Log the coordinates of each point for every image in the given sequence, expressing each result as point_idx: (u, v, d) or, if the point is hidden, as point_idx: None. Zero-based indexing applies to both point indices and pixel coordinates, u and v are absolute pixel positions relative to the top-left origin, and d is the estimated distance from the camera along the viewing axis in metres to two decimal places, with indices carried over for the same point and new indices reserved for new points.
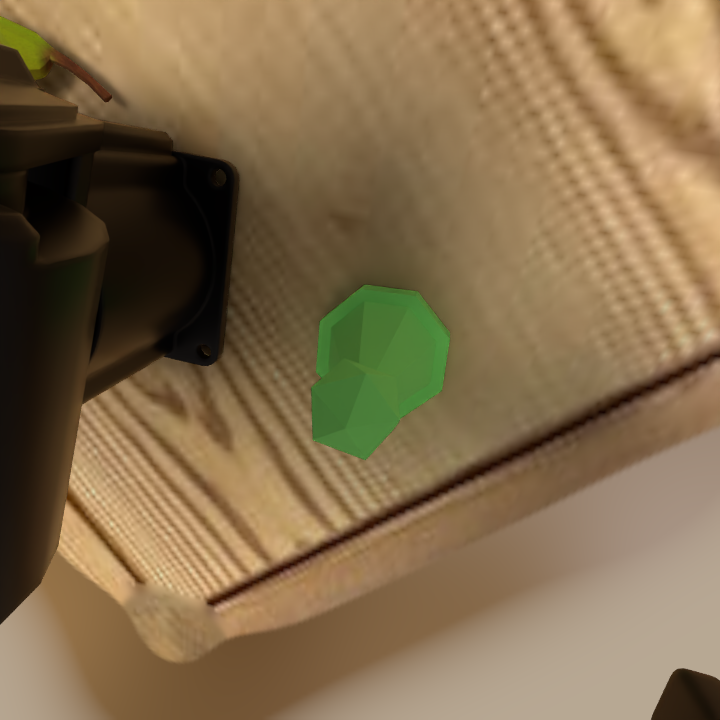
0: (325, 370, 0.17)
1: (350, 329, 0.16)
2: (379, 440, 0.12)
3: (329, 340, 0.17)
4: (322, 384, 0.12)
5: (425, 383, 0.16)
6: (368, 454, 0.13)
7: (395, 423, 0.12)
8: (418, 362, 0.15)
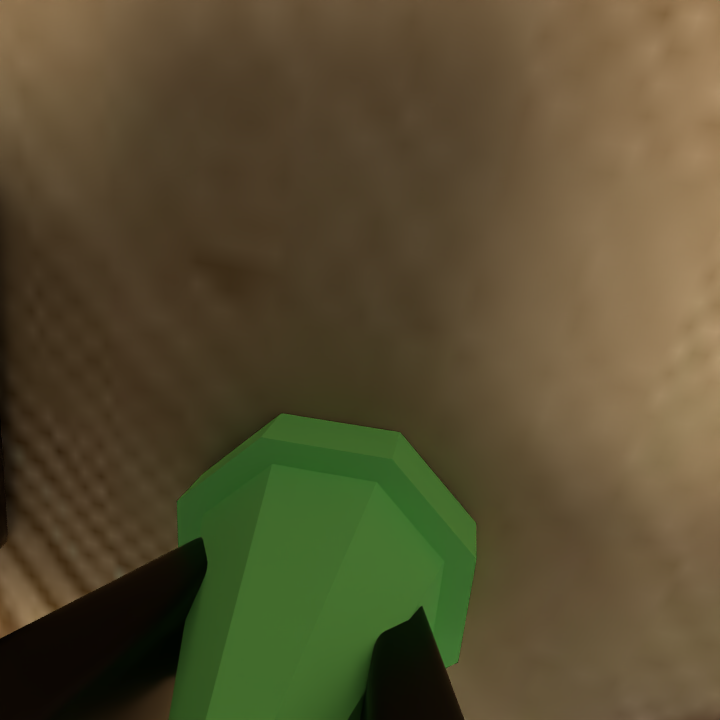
0: None
1: (226, 548, 0.06)
2: None
3: None
4: None
5: None
6: None
7: None
8: None
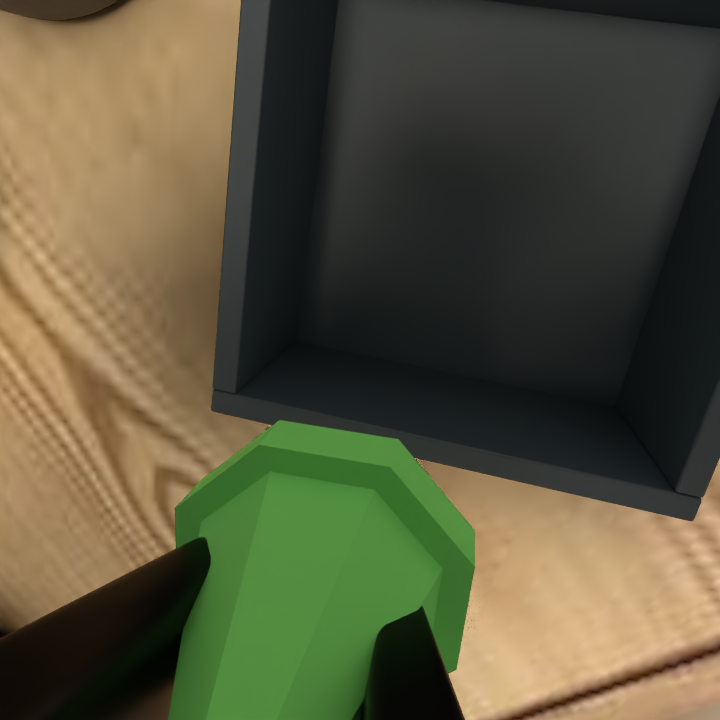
0: None
1: (223, 557, 0.06)
2: None
3: None
4: None
5: None
6: None
7: None
8: None
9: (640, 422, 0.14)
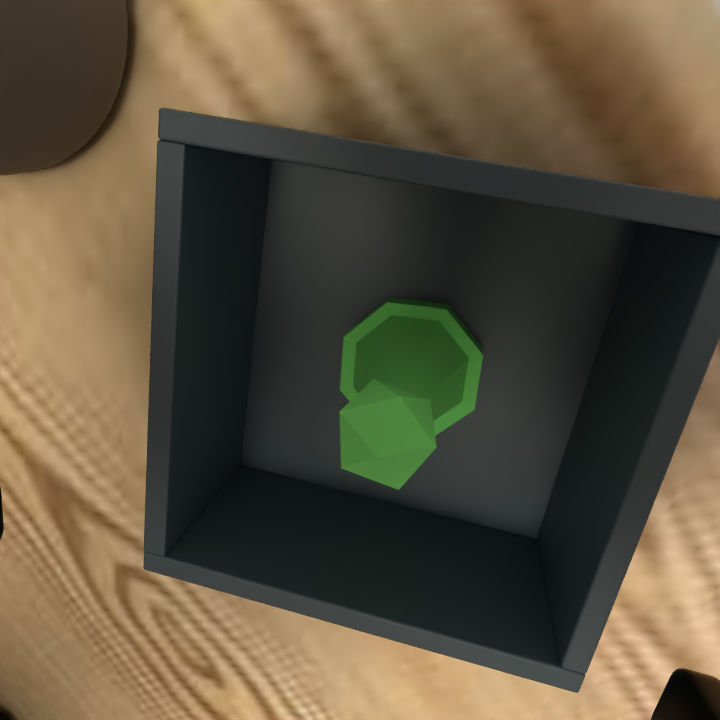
0: (350, 388, 0.16)
1: (377, 345, 0.15)
2: (414, 468, 0.11)
3: (354, 357, 0.16)
4: (351, 408, 0.11)
5: (457, 401, 0.15)
6: (401, 483, 0.12)
7: (431, 450, 0.11)
8: (450, 380, 0.14)
9: (548, 572, 0.15)
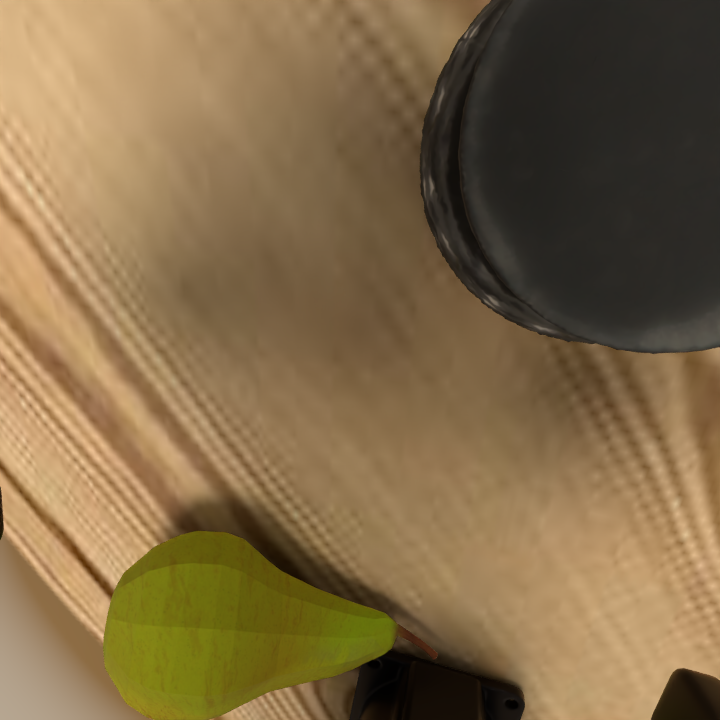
0: None
1: None
2: None
3: None
4: None
5: None
6: None
7: None
8: None
9: None
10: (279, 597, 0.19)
